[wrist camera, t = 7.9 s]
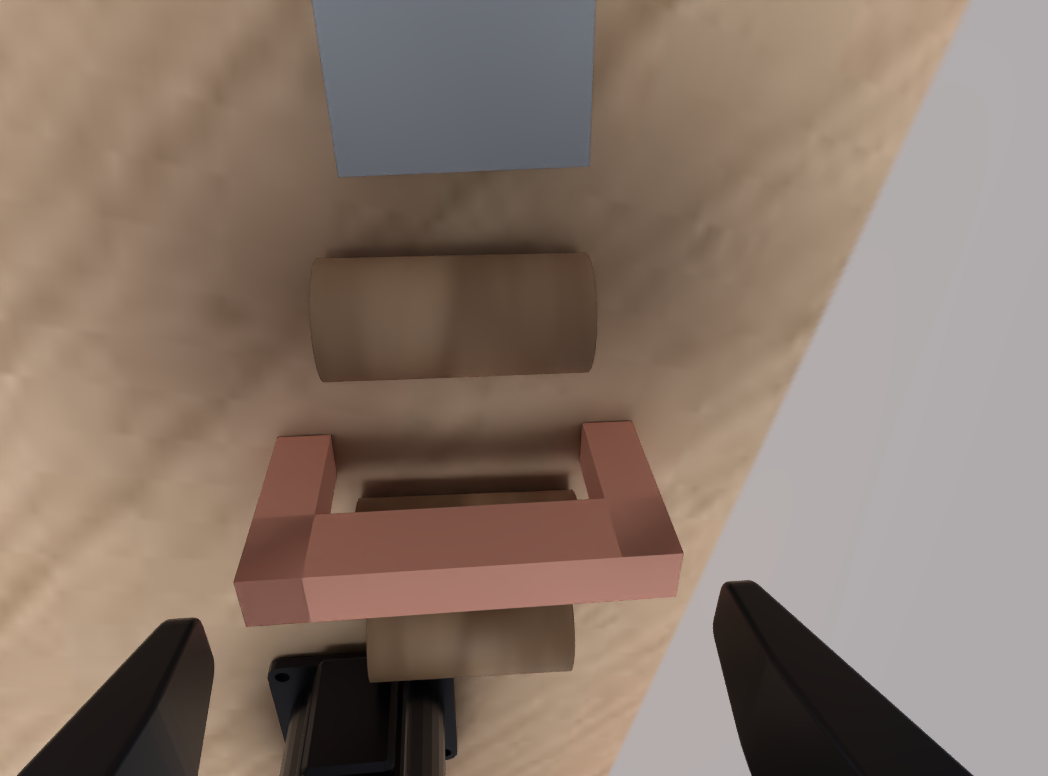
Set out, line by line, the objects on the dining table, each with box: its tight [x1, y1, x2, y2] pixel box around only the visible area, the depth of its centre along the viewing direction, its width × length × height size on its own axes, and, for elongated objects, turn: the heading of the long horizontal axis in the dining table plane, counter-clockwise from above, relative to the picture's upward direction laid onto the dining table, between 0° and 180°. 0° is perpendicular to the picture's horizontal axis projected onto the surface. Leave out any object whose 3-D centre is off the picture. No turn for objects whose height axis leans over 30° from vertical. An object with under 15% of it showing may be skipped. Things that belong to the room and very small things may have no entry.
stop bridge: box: [234, 421, 684, 627], centre depth 20 cm, size 2×10×6 cm, turn 89°
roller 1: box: [309, 253, 597, 382], centre depth 18 cm, size 3×6×3 cm, turn 89°
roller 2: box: [355, 490, 577, 513], centre depth 22 cm, size 3×6×3 cm, turn 88°
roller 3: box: [367, 604, 575, 683], centre depth 24 cm, size 3×6×3 cm
